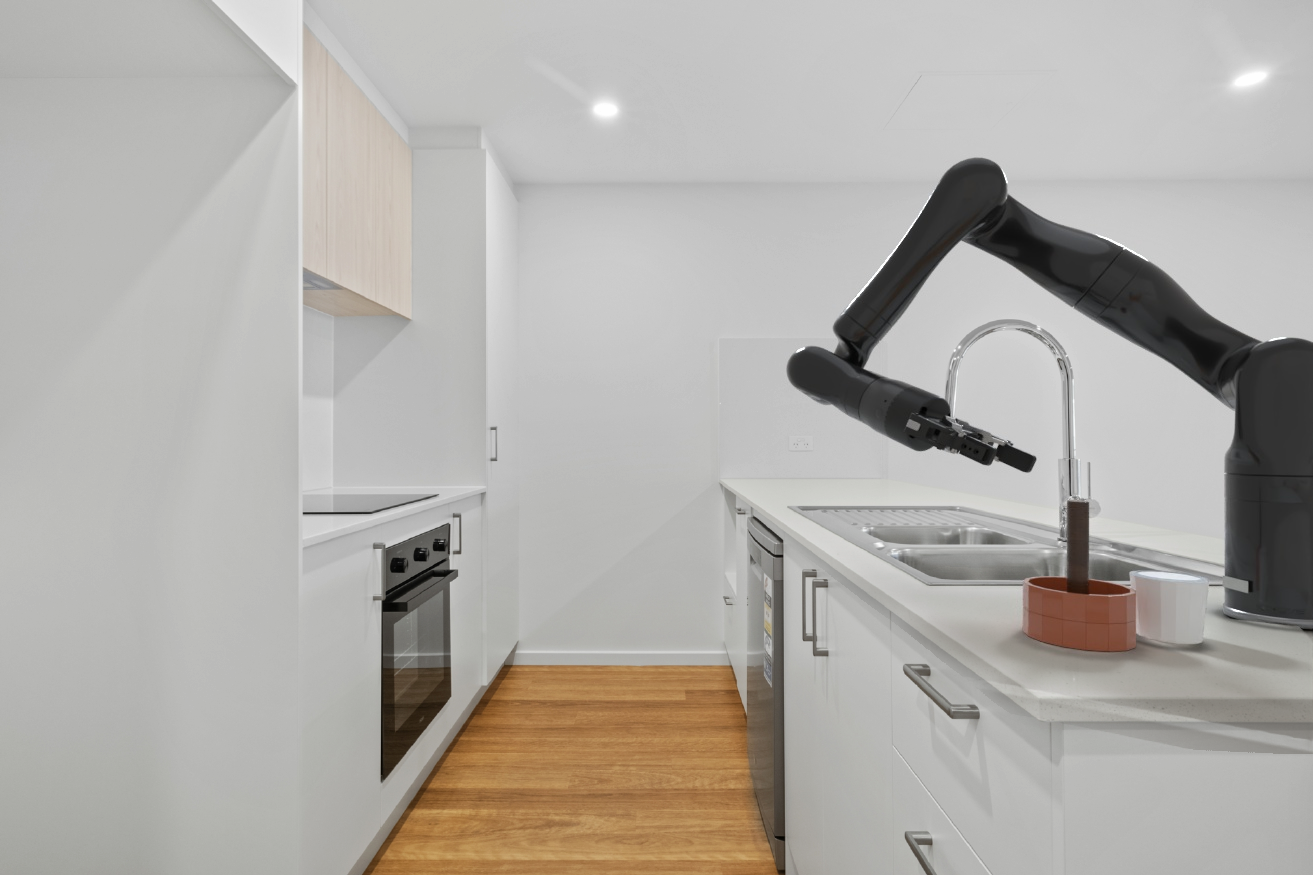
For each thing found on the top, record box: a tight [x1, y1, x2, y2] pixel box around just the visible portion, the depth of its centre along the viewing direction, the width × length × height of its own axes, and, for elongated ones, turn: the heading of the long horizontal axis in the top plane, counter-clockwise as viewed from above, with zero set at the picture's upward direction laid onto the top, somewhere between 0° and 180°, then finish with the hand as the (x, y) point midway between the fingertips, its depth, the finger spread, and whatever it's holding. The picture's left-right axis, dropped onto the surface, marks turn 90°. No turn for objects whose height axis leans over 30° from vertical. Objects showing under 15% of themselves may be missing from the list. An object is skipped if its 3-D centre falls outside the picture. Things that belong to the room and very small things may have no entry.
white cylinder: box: [1128, 569, 1210, 645], centre depth 73 cm, size 7×7×7 cm
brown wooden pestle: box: [1066, 499, 1090, 594], centre depth 72 cm, size 3×3×14 cm
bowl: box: [1022, 575, 1137, 653], centre depth 72 cm, size 10×10×6 cm
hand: (1013, 461), depth 79 cm, fingers open, 8 cm apart
